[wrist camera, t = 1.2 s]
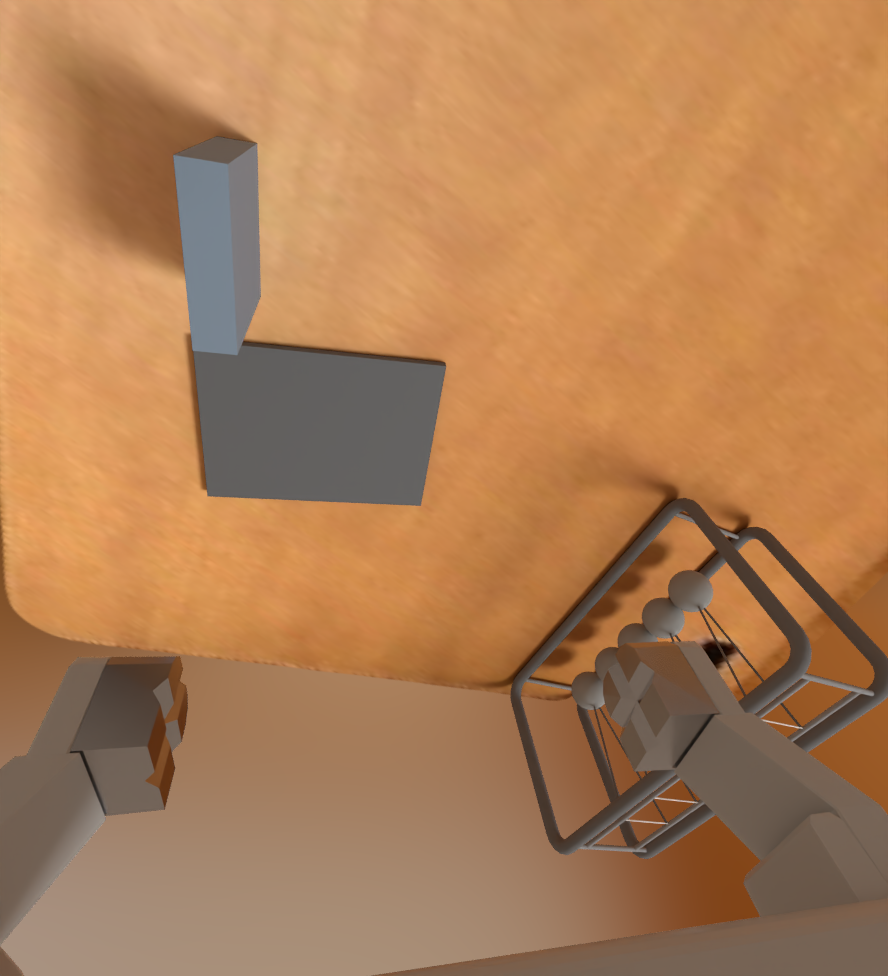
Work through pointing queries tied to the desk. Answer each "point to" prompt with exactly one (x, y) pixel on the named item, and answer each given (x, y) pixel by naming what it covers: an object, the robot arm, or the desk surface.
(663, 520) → the newton's cradle
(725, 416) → the desk surface
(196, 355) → the mat
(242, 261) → the tile
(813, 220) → the desk surface
